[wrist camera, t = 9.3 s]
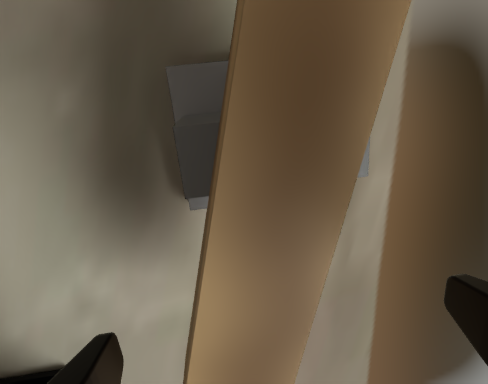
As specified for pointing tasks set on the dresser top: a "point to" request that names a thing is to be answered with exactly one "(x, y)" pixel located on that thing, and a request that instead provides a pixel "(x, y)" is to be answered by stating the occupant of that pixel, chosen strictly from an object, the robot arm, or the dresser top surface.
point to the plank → (284, 178)
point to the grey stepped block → (202, 125)
